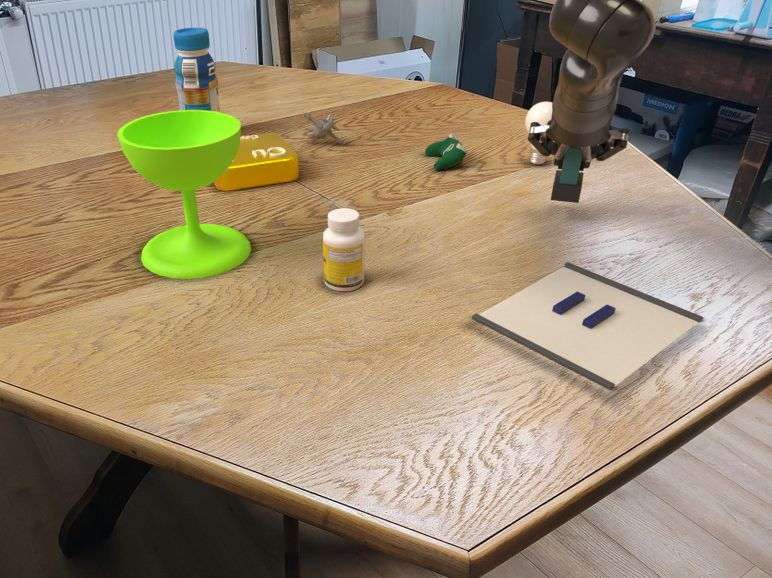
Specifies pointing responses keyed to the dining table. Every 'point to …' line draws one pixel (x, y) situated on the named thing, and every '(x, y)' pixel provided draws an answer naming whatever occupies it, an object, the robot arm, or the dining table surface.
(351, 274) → the supplement bottle
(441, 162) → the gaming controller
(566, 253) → the dining table surface
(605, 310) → the bar
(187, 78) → the beverage bottle
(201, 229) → the wineglass
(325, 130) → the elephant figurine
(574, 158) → the eraser
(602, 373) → the whiteboard
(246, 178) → the element tile
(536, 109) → the lightbulb
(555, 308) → the bar
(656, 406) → the dining table surface
